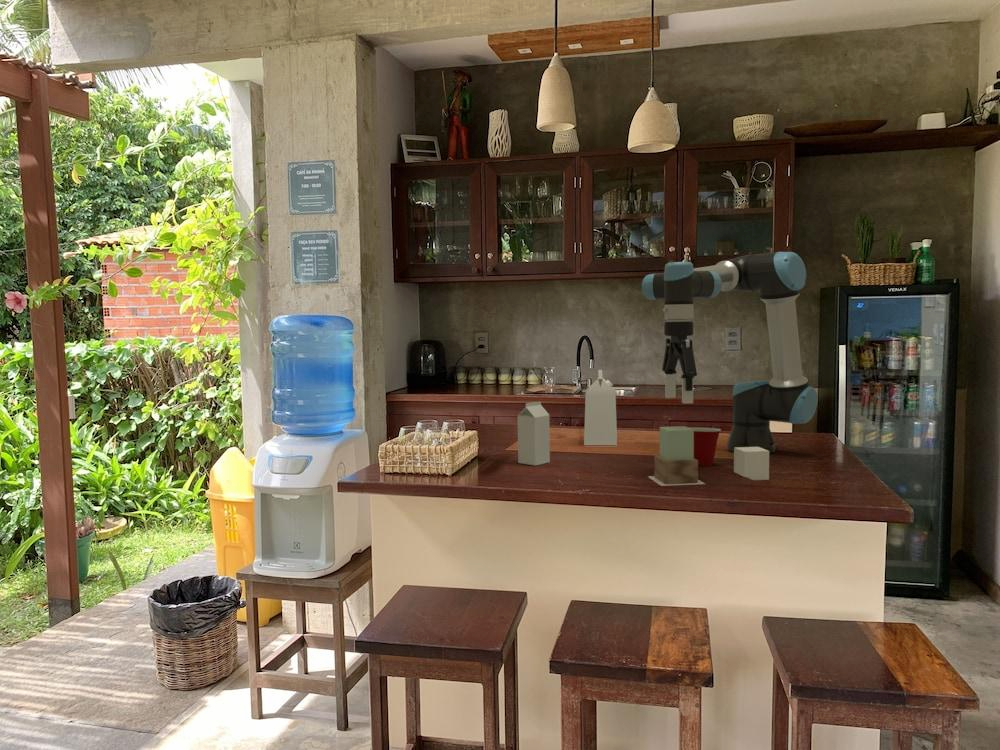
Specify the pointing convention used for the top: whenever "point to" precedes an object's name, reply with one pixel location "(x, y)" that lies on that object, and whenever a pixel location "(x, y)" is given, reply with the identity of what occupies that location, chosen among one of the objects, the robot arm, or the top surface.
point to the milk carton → (533, 435)
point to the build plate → (672, 484)
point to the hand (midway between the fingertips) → (678, 400)
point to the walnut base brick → (675, 471)
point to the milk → (600, 413)
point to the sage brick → (676, 443)
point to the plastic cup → (705, 445)
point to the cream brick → (752, 462)
